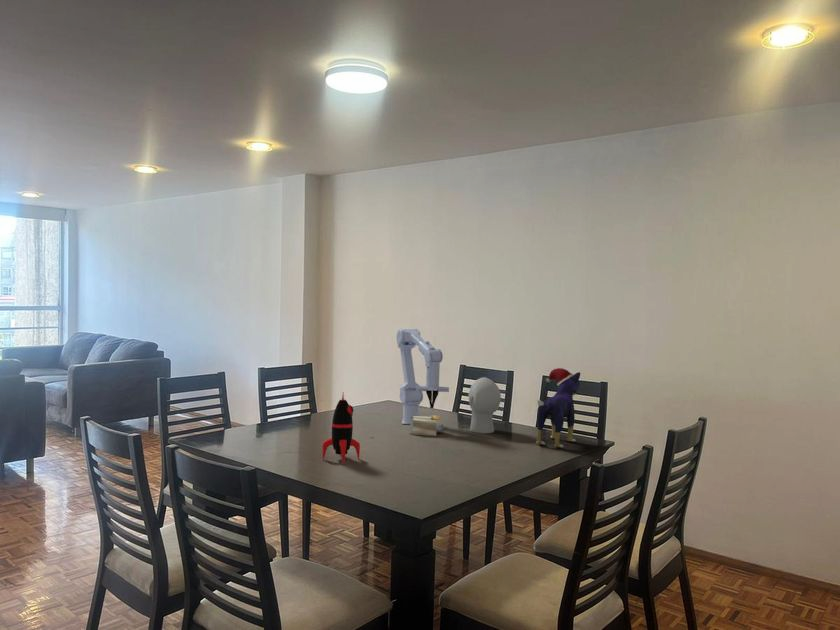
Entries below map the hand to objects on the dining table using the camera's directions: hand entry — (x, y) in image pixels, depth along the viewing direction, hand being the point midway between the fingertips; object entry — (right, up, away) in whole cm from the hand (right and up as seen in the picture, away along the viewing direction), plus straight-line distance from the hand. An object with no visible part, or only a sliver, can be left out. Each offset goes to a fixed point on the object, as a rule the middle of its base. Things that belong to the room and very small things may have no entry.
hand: (431, 407), depth 274 cm
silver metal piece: (-2, -10, -3) cm, 11 cm away
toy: (+49, -13, -14) cm, 53 cm away
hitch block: (-3, -10, -3) cm, 11 cm away
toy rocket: (-34, -11, -51) cm, 62 cm away
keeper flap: (0, -4, -3) cm, 5 cm away
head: (+23, -11, +5) cm, 26 cm away
